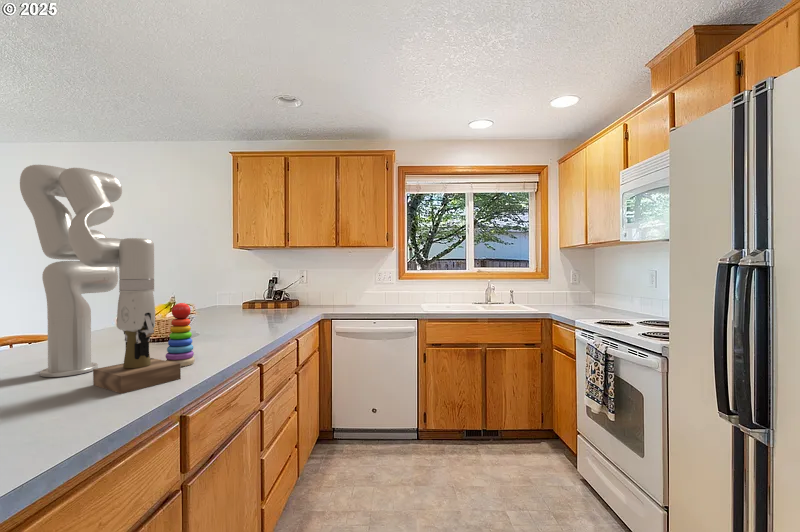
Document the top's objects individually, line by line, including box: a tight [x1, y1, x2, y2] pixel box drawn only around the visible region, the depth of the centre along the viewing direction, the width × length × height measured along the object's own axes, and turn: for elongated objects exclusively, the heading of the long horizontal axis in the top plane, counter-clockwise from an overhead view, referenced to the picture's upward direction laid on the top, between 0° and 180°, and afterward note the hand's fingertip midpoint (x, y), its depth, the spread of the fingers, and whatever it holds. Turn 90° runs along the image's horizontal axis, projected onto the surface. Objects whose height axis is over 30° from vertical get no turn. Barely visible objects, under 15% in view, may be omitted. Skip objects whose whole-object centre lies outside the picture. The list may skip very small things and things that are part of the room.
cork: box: [122, 328, 151, 368], centre depth 102 cm, size 6×6×11 cm
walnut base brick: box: [92, 357, 182, 395], centre depth 101 cm, size 14×14×4 cm
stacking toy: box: [165, 302, 195, 367], centre depth 120 cm, size 8×8×19 cm
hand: (137, 356), depth 102 cm, fingers closed on cork, 3 cm apart
